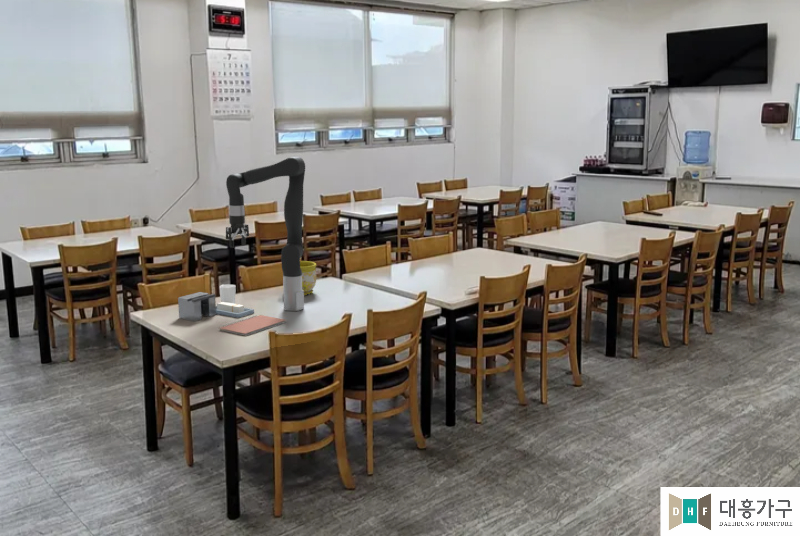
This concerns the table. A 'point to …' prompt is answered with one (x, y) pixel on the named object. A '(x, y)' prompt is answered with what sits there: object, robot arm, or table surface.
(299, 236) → the robot arm
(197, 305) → the dispenser
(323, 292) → the table surface
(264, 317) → the notebook
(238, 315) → the tray
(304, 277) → the flowerpot
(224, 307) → the cream rectangular block
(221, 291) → the white cup
